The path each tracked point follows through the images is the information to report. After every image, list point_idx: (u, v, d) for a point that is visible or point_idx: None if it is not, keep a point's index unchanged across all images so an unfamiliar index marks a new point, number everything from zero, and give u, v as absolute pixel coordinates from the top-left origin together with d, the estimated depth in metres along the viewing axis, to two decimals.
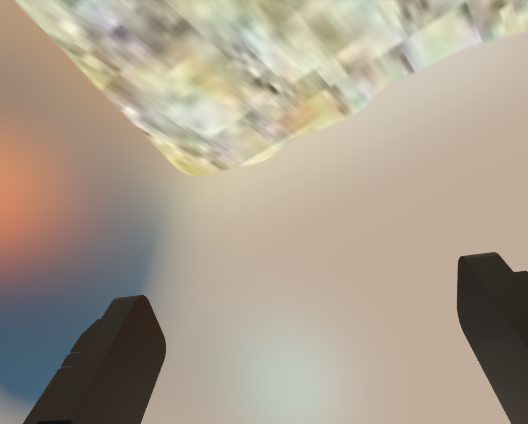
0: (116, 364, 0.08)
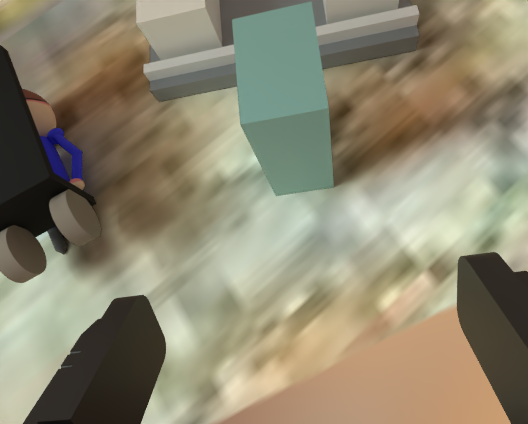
0: (116, 364, 0.08)
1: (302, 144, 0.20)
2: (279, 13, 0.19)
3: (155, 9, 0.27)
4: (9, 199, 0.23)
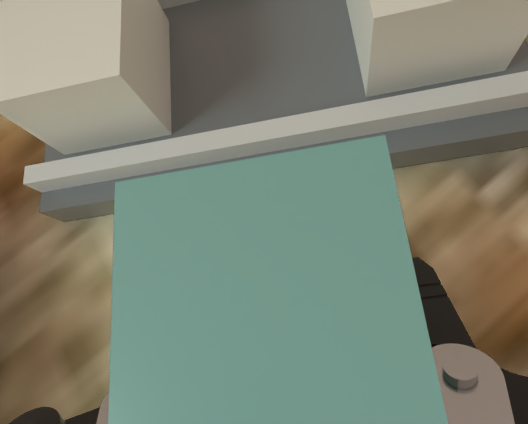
0: None
1: None
2: (271, 174, 0.05)
3: (24, 75, 0.13)
4: None
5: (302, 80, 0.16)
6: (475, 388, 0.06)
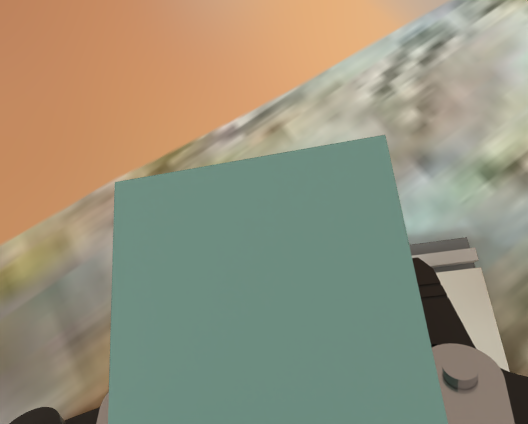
0: None
1: None
2: (271, 174, 0.05)
3: None
4: None
5: None
6: (475, 388, 0.06)
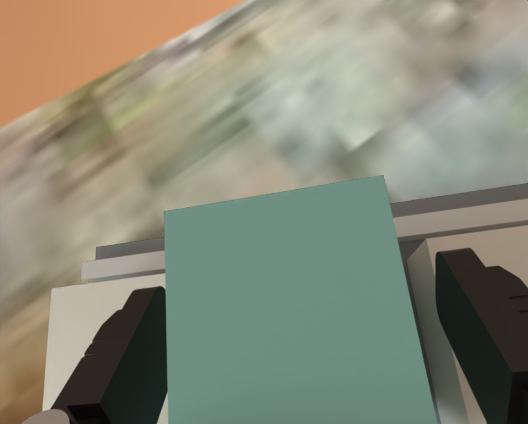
0: (138, 352, 0.09)
1: None
2: (292, 206, 0.07)
3: None
4: None
5: None
6: None
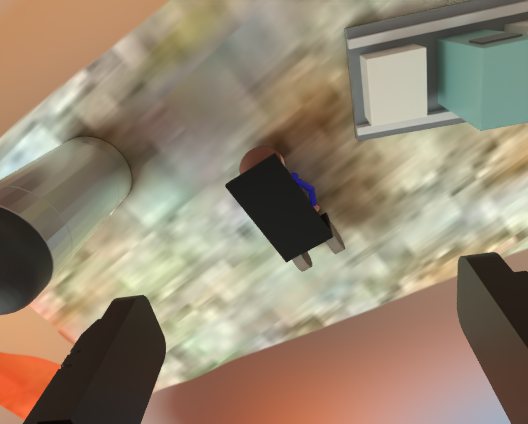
0: (116, 364, 0.08)
1: None
2: (520, 45, 0.27)
3: (386, 114, 0.36)
4: None
5: None
6: None
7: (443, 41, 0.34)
